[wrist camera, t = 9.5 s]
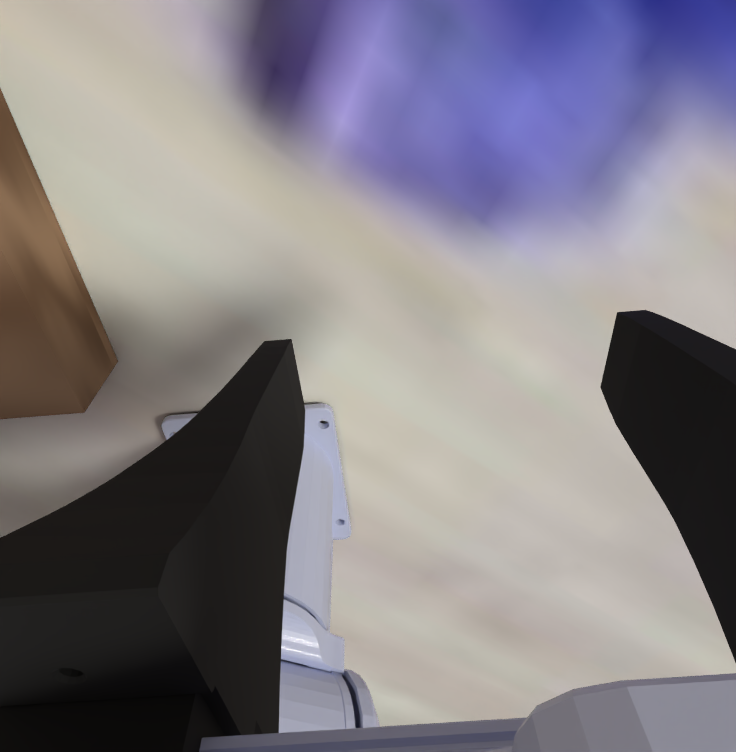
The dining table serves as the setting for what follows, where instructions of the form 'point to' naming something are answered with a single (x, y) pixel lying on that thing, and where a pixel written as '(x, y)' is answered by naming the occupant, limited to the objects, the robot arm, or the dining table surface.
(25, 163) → the well
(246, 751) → the robot arm
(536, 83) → the dining table surface
